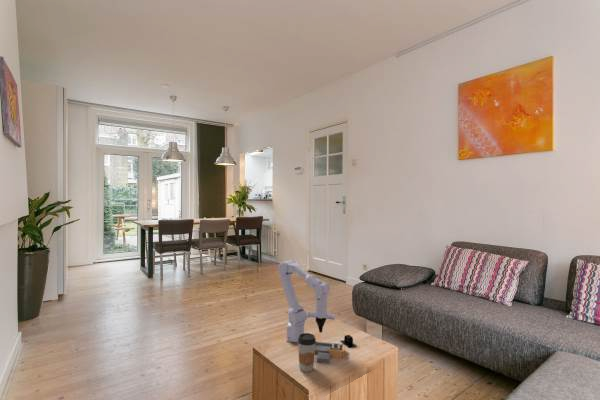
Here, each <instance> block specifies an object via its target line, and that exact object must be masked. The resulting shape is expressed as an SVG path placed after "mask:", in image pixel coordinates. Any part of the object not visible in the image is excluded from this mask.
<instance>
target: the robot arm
mask: <svg viewBox="0 0 600 400" xmlns="http://www.w3.org/2000/svg"><path fill="white" fill-rule="evenodd" d="M277 270H278V272H279V279H280V282H281V286H282V289H283V290H284V293H285V294H284V295H285V297H286V300H287V304H288V306H289V309H288V312H287V314H288V323H287V326H286V341H285V342H288V343H290V342H291V343H298V338H299V335H300V334H303V333H305V323H306V320H307V318H314V319H315V323H316V325H317V328H318V331H319V332H318V333H320V334H321V333H323V329H324V328H323V327H324V325H325V323H326V320H327V319H328V320H332V321H336V314H331V313H328V312H327V311H328V309H327V308H328V293H329V292H330V286H329V284H328V283H327V282H326V281H322V280H321V279H319V278H317V277H316V275H315V274H309V273H308V272H307V271H306V270H305V269H303V268H302V267H301V266H300V265H299V263H298V262H297V261H296V260H294V259H291V260H287V261H281V262H280V263H279V265H278V267H277ZM293 273H295V274H297V276H300V277H301V278H302V279H304V281H305V284H306V285H308V287H310V288H312V289H313V291H314V294H315V297H316V298H315V312H306V311H305V309H304V307H303V305H301V304H299V301H298V300H299V299H298V297H297V295H296V291H295V288H294V286H293V283H292V280H291V277H292V275H293Z"/></svg>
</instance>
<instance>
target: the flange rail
mask: <svg viewBox="0 0 600 400" xmlns="http://www.w3.org/2000/svg"><path fill="white" fill-rule="evenodd" d="M332 344H335V342H334V343H333V342H326V341H325V342H323V341H316V343H315V355H318V353H319V352H321V353H330V354H331V358H338V359H339V358H340V359H344V358H345V351H346V350H345V344H343V343H337V344H338V345H340V350H333V349H332Z"/></svg>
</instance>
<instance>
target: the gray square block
mask: <svg viewBox="0 0 600 400" xmlns="http://www.w3.org/2000/svg"><path fill="white" fill-rule="evenodd" d="M331 358H332V357H331V354H330V353H321V352H319V353H318V354H317V356H316V363H321V364H322V363H323V364H330V362H331Z"/></svg>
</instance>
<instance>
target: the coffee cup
mask: <svg viewBox="0 0 600 400" xmlns="http://www.w3.org/2000/svg"><path fill="white" fill-rule="evenodd" d="M316 342H317V340H316V336H315V335H314V334H312V333H309V332H304V333H303V334H300V335H299V338H298V365H299V366H298V367H299V370H300V372H303V373H310V372H312V371H313V369H314V362H315V355H316V354H315V343H316Z"/></svg>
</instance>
